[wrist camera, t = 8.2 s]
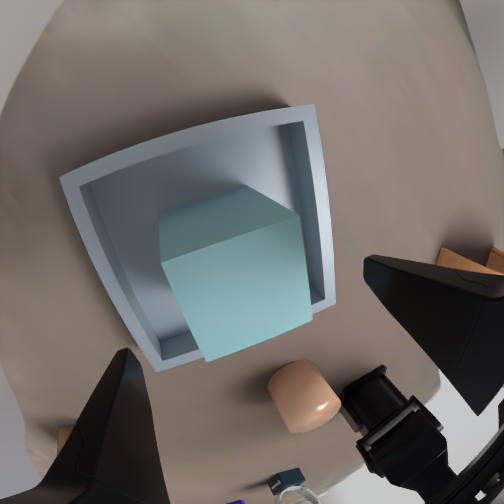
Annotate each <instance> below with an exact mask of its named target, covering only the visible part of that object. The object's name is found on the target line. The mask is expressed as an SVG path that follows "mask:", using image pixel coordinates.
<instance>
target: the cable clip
mask: <svg viewBox="0 0 504 504" xmlns="http://www.w3.org/2000/svg"><path fill="white" fill-rule="evenodd" d="M238 503H239V504H245V503H244V501H242V500H238V501H234V502H231V503H227V504H238Z"/></svg>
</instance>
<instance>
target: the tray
mask: <svg viewBox="0 0 504 504" xmlns="http://www.w3.org/2000/svg"><path fill="white" fill-rule="evenodd" d="M59 179H60V182H61V185H62V188H63V191H64V194H65V197H66V200H67V202H68V205H69V208H70V210H71V213H72V216H73V218H74V221H75V223H76V226H77V228H78V231H79V233H80V236H81V238H82V240H83V243H84V245H85V247H86V249H87V252H88V254H89V256H90V258H91V260H92V262H93V265H94V267H95V269H96V271H97V273H98V275H99V277H100V279H101V281H102V283H103V285H104V287H105V289H106V291H107V292H108V294H109V296H110V298H111V300H112V302H113V304H114V305H115V307H116V309H117V311H118V312H119V314H120V316H121V318H122V319H123V321H124V323H125V325H126V326H127V328H128V330H129V331H130V333H131V334H132V336H133V338H134V339H135V341H136V342H137V344H138V346H139V347H140V349H141V350H142V352H143V353H144V355H145V356H146V358H147V359H148V361H149V362H150V364H151V365H152V367H153V368H154V370H155V371H156V372H159V371H163V370H166V369H169V368H172V367H176V366H179V365H182V364H185V363H188V362H191V361H194V360H197V359H200V358H203V355H202V353H201V351H200V349H199V347H198V345H197V343H196V341H195V339H194V337H193V335H192V333H191V330H190V328H189V326H188V324H187V322H186V320H185V318H184V316H183V313H182V311H181V309H180V307H179V305H178V302H177V300H176V298H175V296H174V293H173V291H172V289H171V286H170V284H169V282H168V279H167V277H166V275H165V272H164V270H163V267H162V265H161V261H160V243H159V215H158V214H160V213H163V212H166V211H169V210H172V209H175V208H178V207H181V206H183V205H186V204H189V203H192V202H196V201H199V200H202V199H205V198H208V197H211V196H214V195H217V194H221V193H224V192H227V191H230V190H234V189H237V188H241V187H244V186H249V187H251V188H253V189H255V190H256V191H258V192H260V193H262V194H263V195H265V196H267V197H269V198H270V199H272V200H274V201H276V202H277V203H279V204H281V205H283V206H284V207H286V208H288V209H289V210H291V211H293V212H295V213H296V214H298V215H300V221H301V228H302V235H303V242H304V250H305V257H306V265H307V273H308V282H309V290H310V299H311V309H312V314H314V313H317V312H319V311H321V310H323V309H325V308H327V307H330V306H332V305H334V304H336V298H335V274H334V257H333V243H332V231H331V220H330V210H329V200H328V191H327V183H326V175H325V168H324V161H323V154H322V147H321V141H320V134H319V128H318V123H317V117H316V112H315V106H314V104H310V105H302V106H294V107H287V108H280V109H274V110H268V111H262V112H257V113H251V114H246V115H241V116H237V117H232V118H227V119H223V120H219V121H214V122H210V123H206V124H202V125H199V126H195V127H191V128H188V129H184V130H180V131H177V132H174V133H170V134H167V135H164V136H161V137H158V138H154V139H151V140H148V141H145V142H143V143H140V144H137V145H134V146H131V147H128V148H126V149H123V150H120V151H118V152H115V153H113V154H110V155H108V156H105V157H103V158H100V159H98V160H95V161H93V162H91V163H88V164H86V165H84V166H82V167H79V168H77V169H75V170H73V171H71V172H69V173H67V174H64V175H62V176H60V177H59Z"/></svg>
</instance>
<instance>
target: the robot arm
mask: <svg viewBox="0 0 504 504" xmlns="http://www.w3.org/2000/svg"><path fill="white" fill-rule="evenodd" d="M363 276H364V280H365V282H366V283H367V285H368V286H369V287H370V288H371V290H372V291H373V292H374V294H375V295H376V296H377V298H378V299H379V300H380V301H381V303H382V304H383V305H384V307H385V308H386V309H387V310H388V311H389V312H390V314H391V315H392V316H393V317H394V318H395V319H396V320H397V321H398V322H399V323H400V324H401V326H402V327H403V328H404V329H405V330H406V331H407V332H408V333H409V334H410V336H411V337H412V338H413V339H414V340H415V341H416V342H417V343H418V345H419V346H420V347H421V348H422V349H423V350H424V351H425V353H426V354H427V355H428V356H429V357H430V358H431V360H432V361H433V362H434V363H435V364H436V365H437V367H438V368H439V369H440V370H441V371H442V373H443V374H444V375H445V376H446V377H447V379H448V380H449V381H450V382H451V384H452V385H453V386H454V387H455V389H456V390H457V391H458V392H459V393H460V395H461V396H462V397H463V399H464V400H465V401H466V402H467V404H468V405H469V406H470V408H471V409H472V410H473V411H474V413H475V414H476V415H477V416H479V415H480V414H481V413H482V412H483V410H484V409H485V408H486V407H487V406H488V404H489V403H490V402H491V401H492V400H493V398H494V397H495V396H496V395H497V393H498V392H499V390H500V389H501V388H502V387H504V275H498V274H489V273H480V272H473V271H467V270H461V269H455V268H453V269H452V268H449V267H444V266H438V265H433V264H427V263H421V262H415V261H410V260H404V259H398V258H392V257H386V256H380V255H370V256H368V257H366V258H365V259H364V269H363ZM386 369H387V368H386V366H382V367H380V368H379V369H377V370H376V371H374V372H372V373H371V374H369V375H367V376H366V377H364V378H362V379H361V380H359V381H357V382H356V383H354V384H352V385H350V386H349V387H347V388H345V389H344V390H343V392H342V402H341V408H340V412H341V414H342V415H343V416H344V418H345V419H346V421H347V422H348V423H349V425H350V426H351V428H352V429H353V430H354V432H356V433H357V432H359V431H360V433H361V434H362V436H363V438H362V439H359V440H358V441H356V443H357V445H356V448H357V449H358V451H359V452H360V453H361V455H362V457H363V459H364V461H365V463H366V466H367V468H368V470H369V472H370V473H375V474H377V475H378V476H380V477H381V478H384V477H386V478H387V480H388V481H389V482H390V483H391V484H392V485H395V486H398V487H403V488H406V489H410V490H414V491H416V492H417V493H418V494H419V495H420V496H421V498H422V499H423V500H424V501H425V504H504V399H503V400H502V401H501V403H500V404H499V405H498V413H499V430H498V432H497V433H496V434H495V435H494V437H493V438H492V439H491V440H490V441H489V443H488V444H487V445H486V446H485V447H484V448H483V449H482V451H481V452H480V453H479V454H478V455H477V456H476V457H475V458H474V459H473V460H472V461H471V462H470V464H469V465H468V466H467V467H466V468H465V469H464V470H463V471H462V472H461V473H459V475H456V474H455V473H454V472H453V471H452V469H451V468H450V467H449V466H448V452H447V441H446V438H445V437H444V436H443V435H442V434H441V433H440V431H441V430H442V429H443V426H442V425H441V423H440V422H439V421H438V420H437V419H436V417H435V416H434V415H433V414H432V413H431V412H430V411H429V410H428V409H427V408H426V407H425V406H424V405H423V404H422V403H421V402H420V401H419V400H418V399H417V398H416V397H415V396H414V395H412V396H411V397H410V399H409V400H407V399H406V398H405V396H404V395H403V394H402V393H401V392H400V391H399V390H398V389H397V388H396V387H395V385H394V384H393V383H392V382H391V381H390V380H389V379H388V378H387V377H386V376H385V373H386ZM415 409H417V411H416V412H414V410H415ZM480 490H481V491H482V492H483V493H484V495H485V497H484V498H482V499H481V500H480V501H478V500H477V499H476V498H475V496H476V495H477V494H478V493H479V491H480ZM0 504H170V501H169V497H168V493H167V489H166V485H165V481H164V476H163V472H162V467H161V463H160V458H159V453H158V448H157V442H156V436H155V430H154V424H153V417H152V411H151V405H150V400H149V396H148V392H147V388H146V384H145V379H144V375H143V370H142V367H141V364H140V362H139V361H138V360H137V358H136V357H135V355H134V354H133V352H132V351H131V349H129V348H124V349H120V350H118V351H117V352H116V354H115V356H114V357H113V359H112V361H111V362H110V364H109V366H108V367H107V369H106V371H105V372H104V374H103V376H102V377H101V379H100V381H99V382H98V384H97V386H96V388H95V389H94V391H93V393H92V395H91V396H90V398H89V400H88V402H87V404H86V405H85V407H84V409H83V411H82V413H81V414H80V416H79V418H78V420H77V422H76V424H75V425H74V427H73V429H72V431H71V433H70V435H69V437H68V438H67V440H66V442H65V444H64V445H63V447H62V449H61V450H60V452H59V454H58V455H57V457H56V459H55V460H54V462H53V463H52V465H51V467H50V468H49V470H48V472H47V473H46V475H45V477H44V478H43V480H42V481H41V482H40V483H39V484H38V485H37V486H36V487H34V488H32V489H30V490H27V491H25V492H22V493H19V494H16V495H13V496H10V497H7V498H4V499H0Z"/></svg>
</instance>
